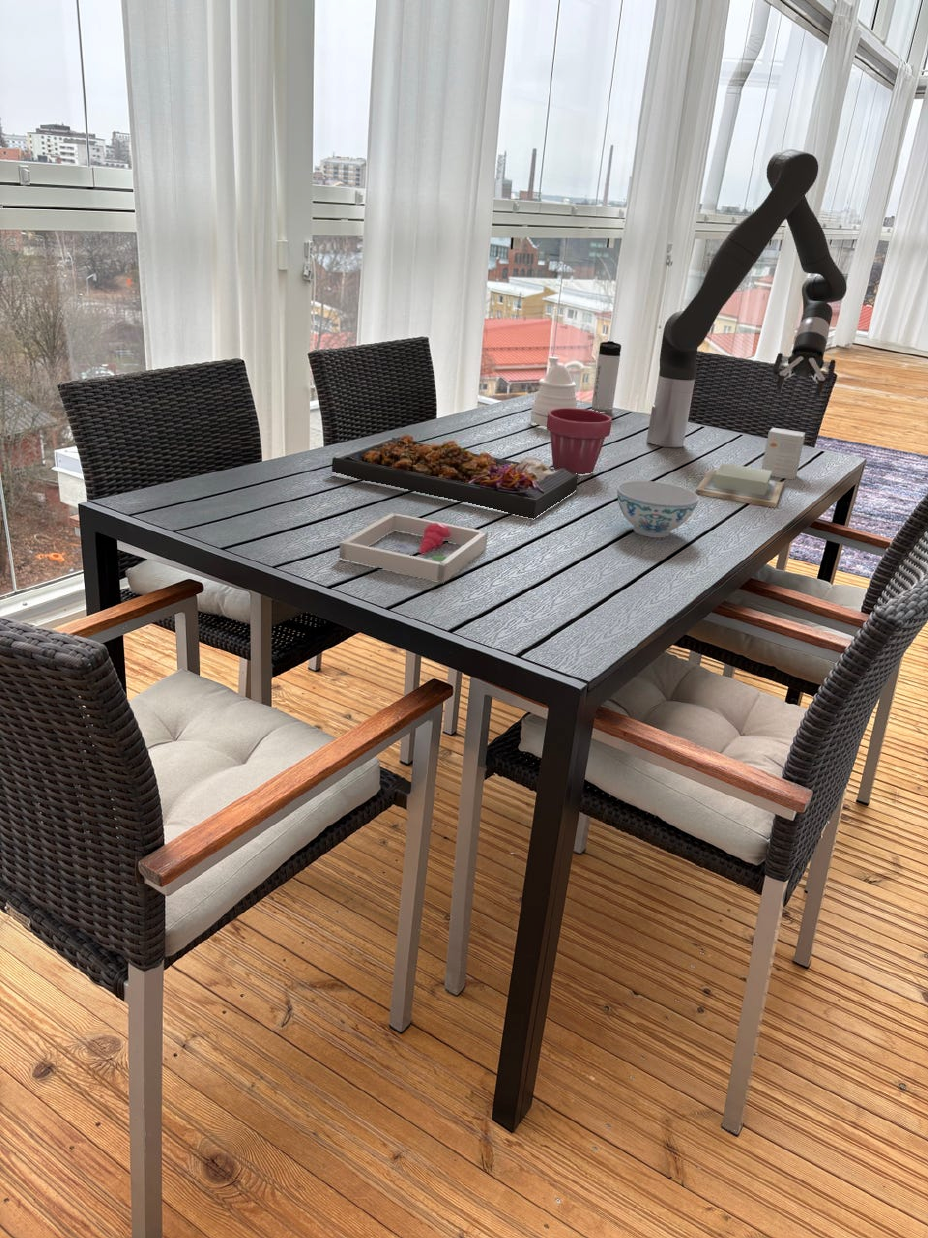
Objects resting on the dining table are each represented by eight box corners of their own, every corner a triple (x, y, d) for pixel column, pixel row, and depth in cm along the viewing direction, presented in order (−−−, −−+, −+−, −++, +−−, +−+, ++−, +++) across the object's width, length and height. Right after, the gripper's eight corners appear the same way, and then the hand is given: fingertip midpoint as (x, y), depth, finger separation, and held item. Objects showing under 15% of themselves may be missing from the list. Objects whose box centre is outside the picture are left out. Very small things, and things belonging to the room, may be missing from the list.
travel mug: (611, 410, 286) (621, 341, 278) (612, 414, 280) (622, 344, 272) (590, 408, 287) (599, 339, 279) (591, 412, 281) (600, 342, 273)
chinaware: (674, 551, 170) (682, 509, 166) (598, 531, 176) (604, 491, 173) (702, 531, 181) (709, 492, 178) (629, 514, 188) (635, 476, 185)
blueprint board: (695, 493, 206) (696, 488, 206) (708, 473, 224) (709, 468, 223) (775, 507, 201) (776, 502, 201) (783, 486, 218) (784, 481, 218)
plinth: (712, 487, 209) (715, 474, 207) (720, 475, 219) (722, 462, 218) (763, 496, 205) (766, 482, 204) (769, 483, 215) (771, 470, 214)
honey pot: (527, 427, 254) (534, 358, 247) (532, 418, 266) (539, 352, 259) (575, 433, 253) (584, 364, 246) (577, 423, 265) (586, 357, 257)
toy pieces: (394, 539, 164) (396, 515, 162) (458, 547, 163) (460, 523, 161) (380, 563, 153) (381, 537, 151) (448, 571, 152) (450, 545, 150)
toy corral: (339, 560, 152) (339, 542, 150) (391, 528, 168) (392, 512, 167) (442, 583, 146) (444, 565, 145) (486, 548, 162) (487, 532, 161)
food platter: (576, 494, 201) (582, 446, 196) (533, 522, 180) (539, 469, 176) (390, 456, 217) (392, 411, 213) (331, 478, 196) (333, 429, 192)
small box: (796, 475, 229) (806, 432, 225) (793, 480, 225) (803, 436, 220) (763, 469, 232) (772, 426, 228) (759, 474, 228) (768, 430, 223)
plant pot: (574, 482, 207) (581, 423, 202) (528, 466, 216) (535, 410, 211) (616, 474, 216) (625, 418, 211) (571, 460, 225) (578, 405, 220)
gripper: (782, 327, 235) (769, 380, 229) (843, 334, 230) (830, 388, 225) (780, 346, 241) (766, 398, 236) (838, 354, 237) (826, 407, 232)
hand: (797, 393), depth 231 cm, fingers open, 8 cm apart
